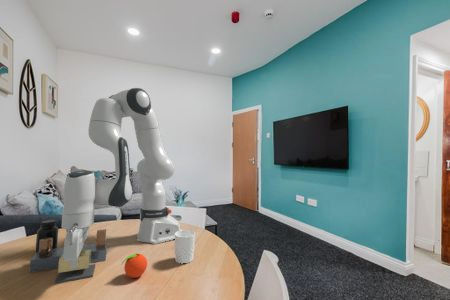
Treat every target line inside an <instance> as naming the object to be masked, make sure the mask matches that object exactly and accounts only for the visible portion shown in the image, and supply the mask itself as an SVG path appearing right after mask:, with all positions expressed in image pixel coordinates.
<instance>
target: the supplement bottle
mask: <svg viewBox="0 0 450 300" xmlns="http://www.w3.org/2000/svg"><path fill="white" fill-rule="evenodd" d="M58 237H59V228H58V226H57V220H56V219H47V220H43V221H41V222H40V227H39V228H38V230H37V232H36V238H35V248H34V249H35V250H34V251H35V254H36V253H37V252H38V251H39V242H40V240H41V239H44V238H53V244H52V249H56V248H58V242H59V241H58V239H59V238H58Z"/></svg>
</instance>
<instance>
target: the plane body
mask: <svg viewBox="0 0 450 300" xmlns="http://www.w3.org/2000/svg"><path fill="white" fill-rule="evenodd" d="M106 239H107V229H106V228H105V229H98V230H97V231H96V242H95V243H90V244H89V243H88V244H84V246H83V248H82V251H84V250H91V262H90V264H94V263H98V262H105V261H106V259H107V254H108V241H107V240H106ZM52 244H53V238H44V239H41V240H40V242H39V251H38V252H37V253H35V254H34V255H33V257H31V259H30V260H29V273H35V272H37V273H38V272H41V271H42V272H43V271H48V270H54V269H58V268H59V259H60V257H61V256H62V254H63V252H64V247H57V248H56V249H52Z"/></svg>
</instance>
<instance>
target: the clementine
mask: <svg viewBox="0 0 450 300" xmlns="http://www.w3.org/2000/svg"><path fill="white" fill-rule="evenodd" d="M123 264H124V267H123V268H124V272H125V274H126V276H128V277H129V278H134V279H135V278H139V277H140V276H142V275H143V274H144V273H145V271H146V270H147V267H148V260H147V258H146V256H145V255H143V254H141V253H134V254H132V255H129V256H127V257H126V258H125V259H124V260H123V261H122V263H121V265H123Z"/></svg>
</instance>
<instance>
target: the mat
mask: <svg viewBox="0 0 450 300" xmlns="http://www.w3.org/2000/svg"><path fill="white" fill-rule="evenodd" d="M95 269H96V263H91V264H90V265H89V268H85V269H79V270H73V271H67V272H60V273H58V274H57V276H56V278H55V280H54V282H53V285H57V284H61V283H67V282H72V281H77V280H83V279H89V278H93V276H94V273H95Z"/></svg>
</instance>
